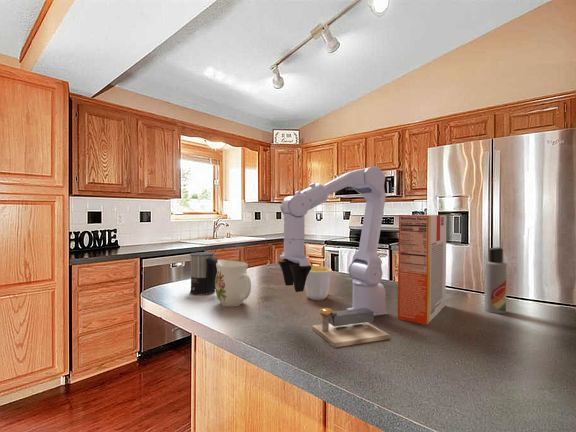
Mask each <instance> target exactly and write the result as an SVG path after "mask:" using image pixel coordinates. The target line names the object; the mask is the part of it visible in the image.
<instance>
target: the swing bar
mask: <svg viewBox="0 0 576 432" xmlns="http://www.w3.org/2000/svg"><path fill="white" fill-rule="evenodd" d="M319 315H320V316H322V315H325V316H328V315H329V323H330V324H331V325H333V326H341V325H349V324H357V323H364V322H367V323H371V322H374V320H375V318H374V317H375V316H374V312H373V311H371V310H369V309H367V308H360V309H351V310H347V309H346V310H345V309H344V310H336V311H335V310H333V309H331V308H329V307H321V308H320V309H319Z"/></svg>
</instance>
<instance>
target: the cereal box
mask: <svg viewBox="0 0 576 432" xmlns="http://www.w3.org/2000/svg"><path fill="white" fill-rule="evenodd" d="M447 217H448V216H447V214H399V216H398V261H397V262H398V264H397V265H398V272H397V275H398V276H397V277H398V278H397V280H398V281H397V282H398V283H397V319H399V320H404V321H409V322H413V323H419V324H423V325H428V324H429V323H430V322H431V321H432V320H433V319H434V318H435V317H436V316H437V315H438V314H439V313H440V312H441V311H442V310H443V309H444V308H445V306H446V292H447V291H446V288H447V287H446V282H447V281H446V279H447V277H446V276H447V221H448V220H447ZM442 308H443V309H442ZM441 309H442V310H441Z"/></svg>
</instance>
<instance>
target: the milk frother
mask: <svg viewBox="0 0 576 432" xmlns="http://www.w3.org/2000/svg"><path fill="white" fill-rule="evenodd" d="M189 255H190V291H189V293H190V294H191V293H192V294H191V295H197V294H202V295H210V294H213V293H216V290H215V278H216V274H217V267H216V263H217V260H220V259H219V258H217V257H215V252H212V251H211V252H210V251H209V252H208V251H203V252H202V251H199V252H198V251H197V252H191V253H189ZM209 293H210V294H209Z"/></svg>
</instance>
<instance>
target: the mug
mask: <svg viewBox="0 0 576 432" xmlns="http://www.w3.org/2000/svg"><path fill="white" fill-rule="evenodd" d="M332 271H333V270H332V268H330V267H327V266H311V270H310V272H309V273H308V276H307V279H306V282H305V286H304V290H305V294H306V296H307V297H308V299H310V300H314V301H316V300H317V301H322V300H324V299H326V298H327V296H328V295H329V289H330V283H331V277H332Z"/></svg>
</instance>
